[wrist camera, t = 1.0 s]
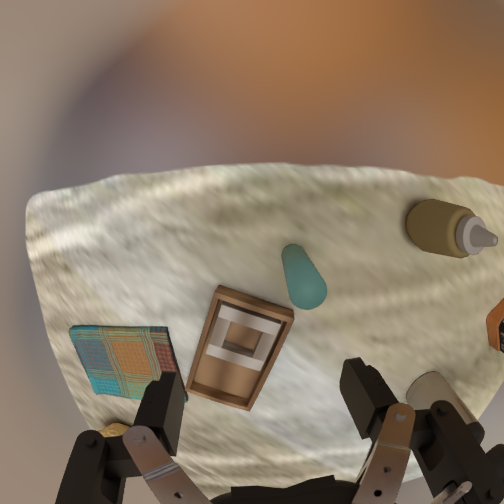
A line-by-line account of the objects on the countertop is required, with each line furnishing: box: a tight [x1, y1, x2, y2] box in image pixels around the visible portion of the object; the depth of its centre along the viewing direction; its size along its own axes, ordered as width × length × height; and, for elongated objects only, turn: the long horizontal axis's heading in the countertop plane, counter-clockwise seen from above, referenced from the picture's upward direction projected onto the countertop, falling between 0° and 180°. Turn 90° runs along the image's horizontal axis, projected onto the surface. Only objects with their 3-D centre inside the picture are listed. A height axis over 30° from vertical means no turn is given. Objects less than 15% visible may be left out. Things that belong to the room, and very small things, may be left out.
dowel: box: [282, 244, 327, 310], centre depth 32 cm, size 4×4×16 cm
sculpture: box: [98, 423, 130, 437], centre depth 46 cm, size 12×12×11 cm
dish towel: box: [69, 326, 188, 403], centre depth 45 cm, size 17×23×2 cm
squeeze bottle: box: [406, 199, 498, 258], centre depth 29 cm, size 8×8×18 cm
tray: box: [185, 285, 294, 411], centre depth 42 cm, size 12×20×3 cm, turn 161°
